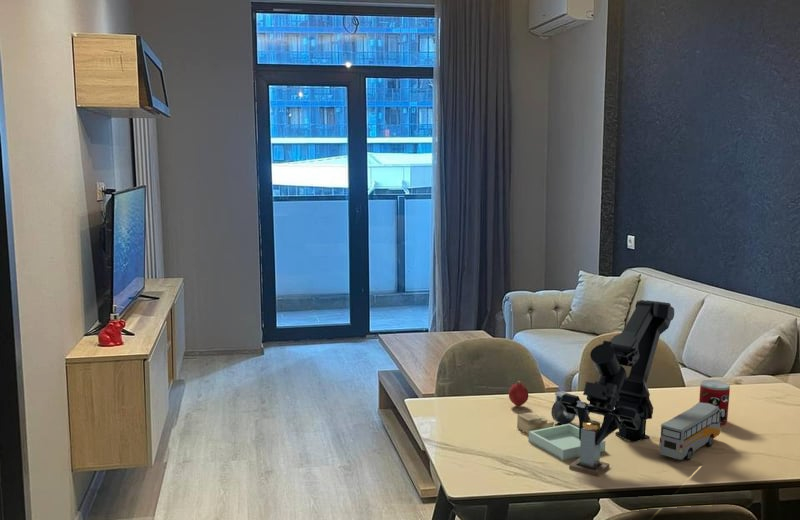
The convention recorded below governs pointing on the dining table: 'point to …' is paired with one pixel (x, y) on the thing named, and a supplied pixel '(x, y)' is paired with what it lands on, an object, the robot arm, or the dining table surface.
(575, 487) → the dining table surface
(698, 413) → the toy bus
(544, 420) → the block
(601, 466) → the pin socket
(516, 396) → the onion
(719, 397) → the canned food
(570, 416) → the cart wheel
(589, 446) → the pin
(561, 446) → the tray
